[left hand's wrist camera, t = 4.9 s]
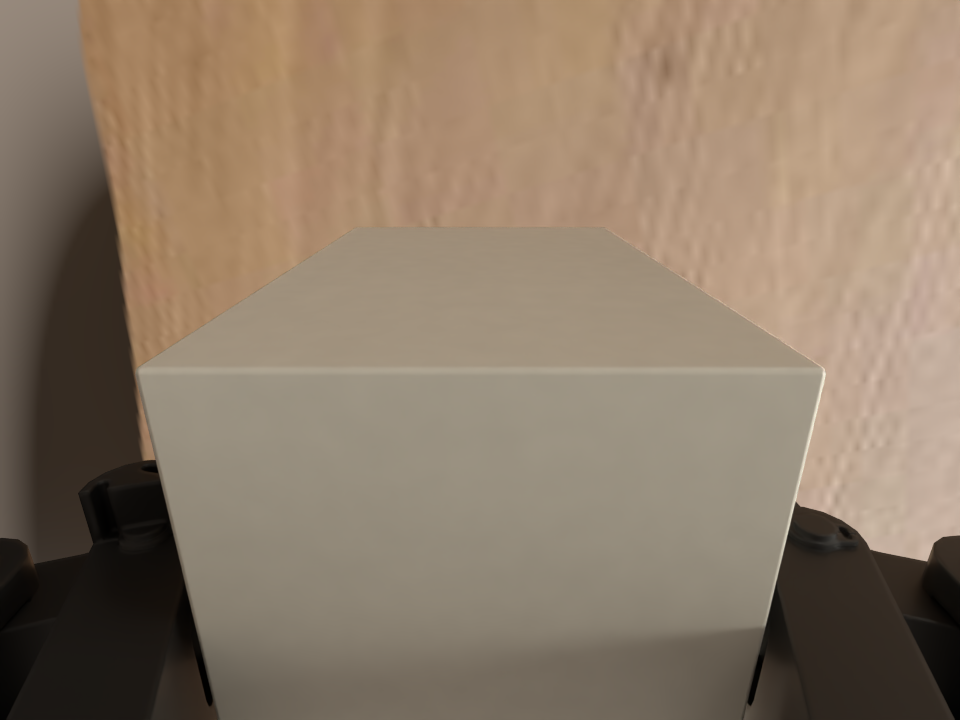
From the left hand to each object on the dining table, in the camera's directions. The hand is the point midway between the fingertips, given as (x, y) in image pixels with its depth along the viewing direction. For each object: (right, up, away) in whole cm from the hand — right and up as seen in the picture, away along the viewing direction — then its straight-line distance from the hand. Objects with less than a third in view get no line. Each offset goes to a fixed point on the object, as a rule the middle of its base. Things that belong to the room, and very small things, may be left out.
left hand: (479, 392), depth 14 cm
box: (0, -7, +3) cm, 8 cm away
